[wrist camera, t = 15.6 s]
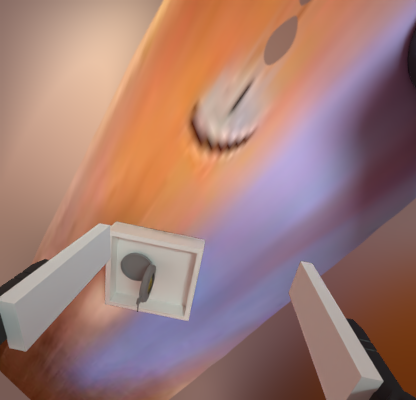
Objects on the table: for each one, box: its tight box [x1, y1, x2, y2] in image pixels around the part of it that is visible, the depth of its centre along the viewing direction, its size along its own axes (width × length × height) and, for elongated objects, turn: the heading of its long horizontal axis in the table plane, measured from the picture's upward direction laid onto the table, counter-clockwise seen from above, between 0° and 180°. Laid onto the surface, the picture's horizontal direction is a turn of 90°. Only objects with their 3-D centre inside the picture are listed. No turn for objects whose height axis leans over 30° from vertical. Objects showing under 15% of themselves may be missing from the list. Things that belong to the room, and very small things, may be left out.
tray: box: [105, 222, 205, 321], centre depth 41 cm, size 18×18×4 cm
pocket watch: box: [121, 253, 156, 312], centre depth 37 cm, size 8×8×10 cm
